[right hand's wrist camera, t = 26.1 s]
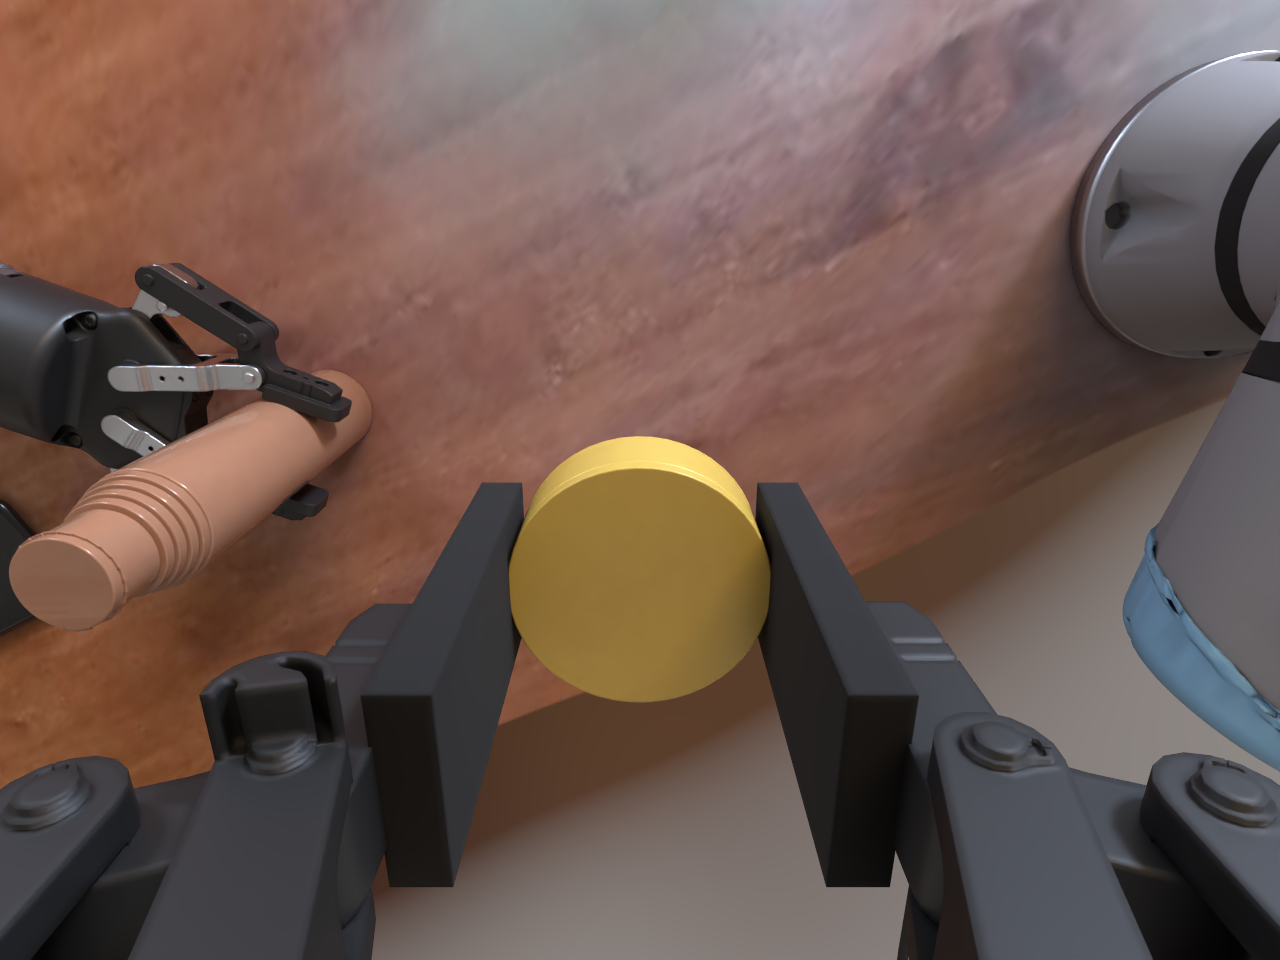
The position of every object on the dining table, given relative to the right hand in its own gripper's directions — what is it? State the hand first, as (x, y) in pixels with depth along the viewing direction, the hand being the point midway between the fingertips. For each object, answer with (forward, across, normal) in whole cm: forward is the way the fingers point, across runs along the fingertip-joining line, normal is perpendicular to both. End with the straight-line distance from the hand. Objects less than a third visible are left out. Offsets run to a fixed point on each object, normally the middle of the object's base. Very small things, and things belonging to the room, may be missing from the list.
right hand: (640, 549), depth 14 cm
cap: (-2, 0, 0) cm, 2 cm away
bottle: (+30, +18, +5) cm, 36 cm away
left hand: (+24, +16, +6) cm, 29 cm away
